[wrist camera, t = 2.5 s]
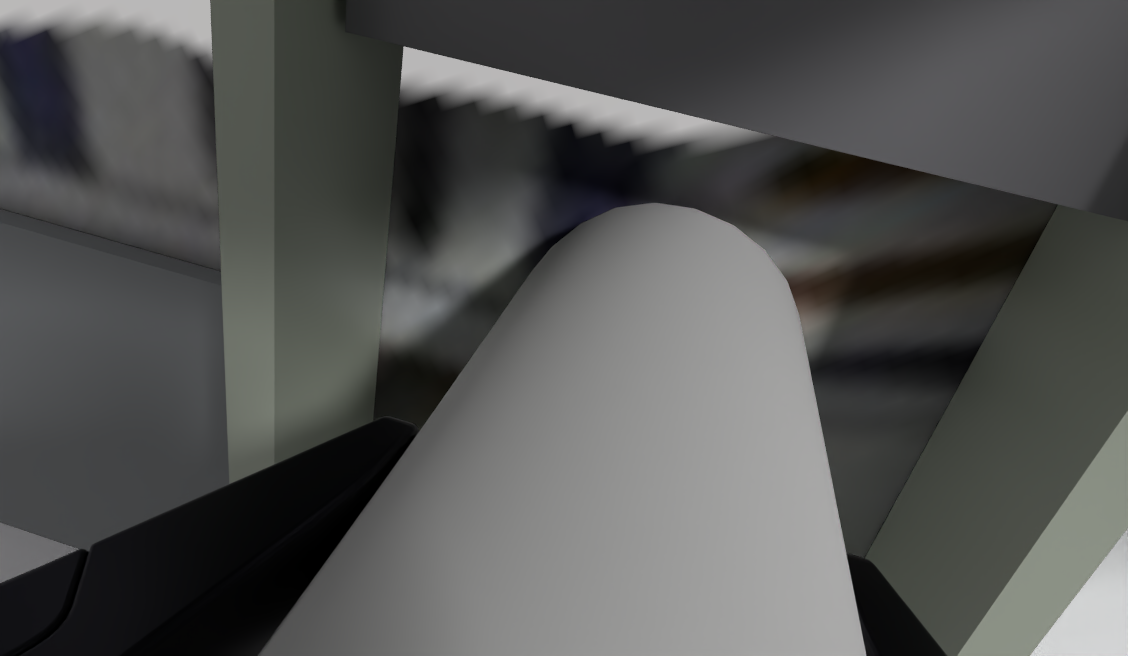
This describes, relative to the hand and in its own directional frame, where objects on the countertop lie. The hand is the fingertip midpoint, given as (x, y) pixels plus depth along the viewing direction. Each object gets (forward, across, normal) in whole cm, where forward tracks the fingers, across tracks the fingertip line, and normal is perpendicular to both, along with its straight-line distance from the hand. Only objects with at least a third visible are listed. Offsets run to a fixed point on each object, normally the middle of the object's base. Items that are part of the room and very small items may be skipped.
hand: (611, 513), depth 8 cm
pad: (+5, +12, +6) cm, 14 cm away
